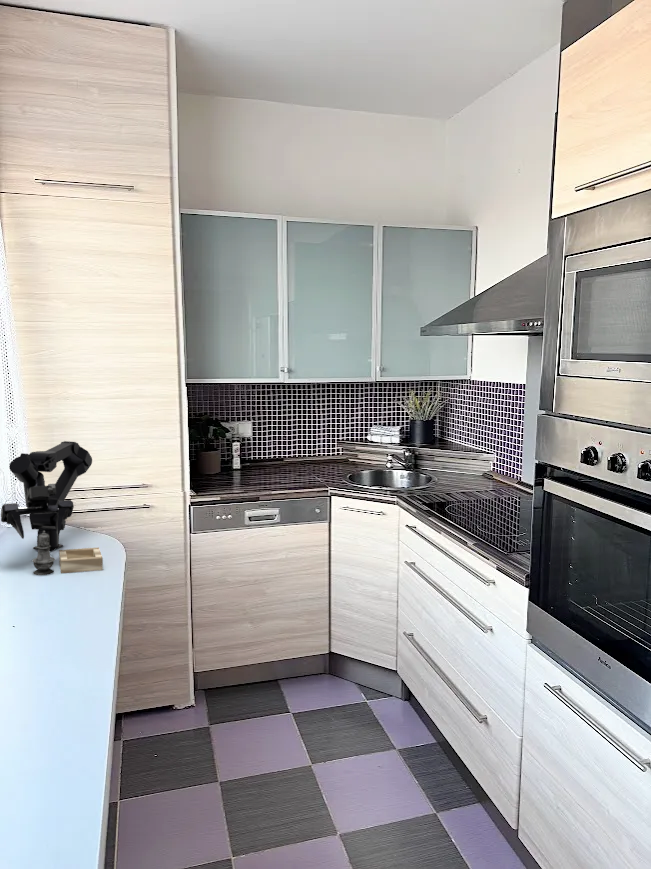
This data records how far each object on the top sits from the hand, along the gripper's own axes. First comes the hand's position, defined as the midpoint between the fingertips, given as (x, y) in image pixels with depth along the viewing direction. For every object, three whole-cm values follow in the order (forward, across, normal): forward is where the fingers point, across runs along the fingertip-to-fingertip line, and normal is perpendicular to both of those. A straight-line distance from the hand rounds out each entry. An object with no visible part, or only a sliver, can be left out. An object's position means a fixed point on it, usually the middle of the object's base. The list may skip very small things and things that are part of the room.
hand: (41, 536), depth 185 cm
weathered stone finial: (+9, 0, +5) cm, 10 cm away
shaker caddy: (+7, +10, +6) cm, 14 cm away
